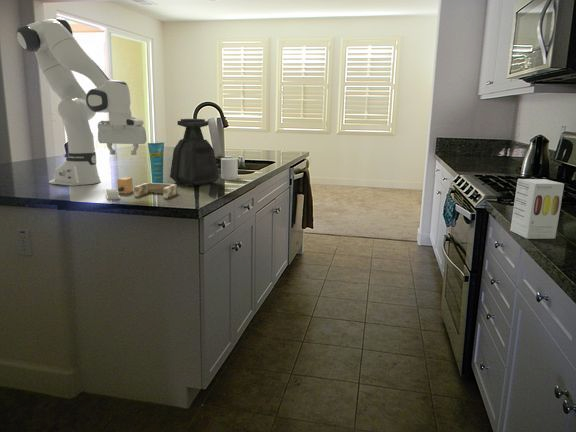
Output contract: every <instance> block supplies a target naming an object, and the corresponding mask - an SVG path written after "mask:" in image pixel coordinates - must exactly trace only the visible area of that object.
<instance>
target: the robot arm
mask: <svg viewBox="0 0 576 432" xmlns="http://www.w3.org/2000/svg"><path fill="white" fill-rule="evenodd" d="M15 33H16V38H17V41H18V43H19V45H20V47H21V48H22V49H23V50H24V51H26V52H27V53H34V54H35V58H36V60H37V63H38V65H39V68H40V69H41V71H42V73H43V76H44V77H45V79H46V81H47V82H48V84H49V86H50V88H51V90H52V91H53V92H54V93H55V94H56V95H57V96H58V97H59V98H60V100H61V101H60V102H59V104H58V106H57V112H58V115H59V116H60V117H61V119H62V123H63V125H64V130H65V133H66V138H67V146H68V147H67V148H68V152H67V153H64V155H63V158H65V161H64V162H63V163H61V164H60V165H59V166H58V167H56V168H55V170H54V172H53V179H51V180H49V181H48V184H53V185H62V186H71V187H72V186H75V187H76V186H83V185H95V184H99V183H101V178H100V175H99V172H98V168H97V153H96V151H95V141H94V140H95V139H94V135H93V132H92V129H91V126H90V122H89V121H90V120H91V119H93V118H94V116H95V115H96V113H108V120H100V121H99V122H98V123H97V141H98V143H99V144H106V147H107V148H108V150H109V155H116V150H115V149H114V148H113V144H119V145H120V144H121V145H132V147H133V149H132V150H131V151H130V153H131V154H130V155H131V156H136V155H137V150H138V148H139V145H144V144H146V142H147V141H148V140H147V133H146V132H147V131H146V128H145V126H143V125H144V124H145V123H144V120H143V119H140V118H138V117H135V116H133V115H132V110H131V103H132V101H131V92H130V89H129V84H128V83H127V82H125V81H123V80H119V79H109V78H108V76H107V75H106V74H105V73H104V71H103V70H102V69H101V67H100V66H99V65H98V64H97V63H96V62H95V61H94V60H93V59H92V57H90V56H89V55H88V54H87V53H86V52H85V50H84V49H83V48H82V47H81V45H80V44H79V42H78V41H77V40H76V38H75V37H74V34H73V33H74V32H73V30H72V27H71V25H70V24H69V22H68V20H66V18H63V17H54V18H48V19H47V18H46V19H40V20H39V21H36V22H31V23H28V24H27V25H26V24H24V25H21V26H20V27H18V28H17V30H16V32H15ZM73 72H75V73H78V74H80V75H83V76H85V77H86V78H88V80H90V82H92V83H93V85H94V86H95V88H91V89H90V90H88V91H87V93H86V92H85V90H84V89H83V87H82V86H81V85H80V83H79V81H77V79H76V77H75V75H74V73H73Z"/></svg>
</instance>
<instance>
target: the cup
mask: <svg viewBox="0 0 576 432" xmlns="http://www.w3.org/2000/svg"><path fill="white" fill-rule="evenodd" d="M238 162H239V161H238V158H236V157H222V158H220V169H221V171H220V176H221V179H222V180H223V181H224V180H225V181H234V180H235V181H236V180H237V179H238V177H239V176H238V175H239V174H238V171H239V169H238V168H239V167H238V166H239V165H238V164H239V163H238Z"/></svg>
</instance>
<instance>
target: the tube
mask: <svg viewBox="0 0 576 432" xmlns="http://www.w3.org/2000/svg"><path fill="white" fill-rule="evenodd" d="M147 147H148V153H149V161H150V162H149V163H150V172H151V183H164V151H165V142H148V143H147Z"/></svg>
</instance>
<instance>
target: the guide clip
mask: <svg viewBox="0 0 576 432" xmlns="http://www.w3.org/2000/svg"><path fill="white" fill-rule="evenodd" d="M105 192H106V194H105V199H106V200H107V201H110V200H111V201H112V200H115V201H116V200H121V196H120V193H119V192H118V188H108V189H107V188H106V191H105Z"/></svg>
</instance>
